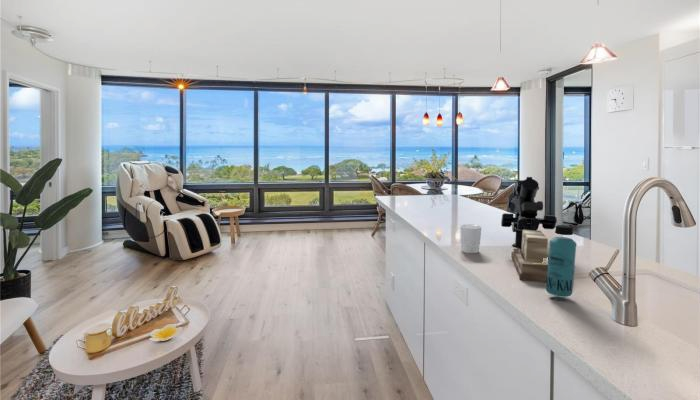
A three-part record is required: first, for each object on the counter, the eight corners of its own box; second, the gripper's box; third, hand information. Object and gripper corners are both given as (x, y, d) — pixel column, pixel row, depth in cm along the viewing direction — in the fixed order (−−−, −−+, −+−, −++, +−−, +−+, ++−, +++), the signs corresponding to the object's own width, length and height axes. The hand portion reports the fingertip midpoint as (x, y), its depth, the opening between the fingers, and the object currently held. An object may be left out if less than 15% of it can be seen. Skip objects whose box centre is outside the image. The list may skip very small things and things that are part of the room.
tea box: (520, 253, 138) (522, 229, 137) (539, 255, 136) (540, 230, 135) (525, 264, 126) (527, 237, 124) (546, 265, 124) (547, 238, 123)
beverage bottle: (546, 291, 107) (551, 222, 104) (573, 296, 103) (579, 224, 100) (543, 299, 101) (548, 226, 99) (571, 304, 98) (577, 229, 95)
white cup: (481, 254, 145) (482, 228, 143) (460, 253, 146) (461, 228, 145) (478, 249, 152) (480, 224, 151) (458, 248, 154) (459, 224, 153)
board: (511, 256, 141) (512, 243, 140) (546, 259, 137) (547, 245, 137) (520, 279, 116) (520, 263, 116) (563, 283, 113) (564, 266, 112)
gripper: (503, 192, 145) (504, 226, 136) (557, 194, 140) (562, 229, 131) (500, 209, 154) (501, 242, 145) (551, 211, 148) (555, 246, 139)
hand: (529, 239), depth 140 cm, fingers closed
